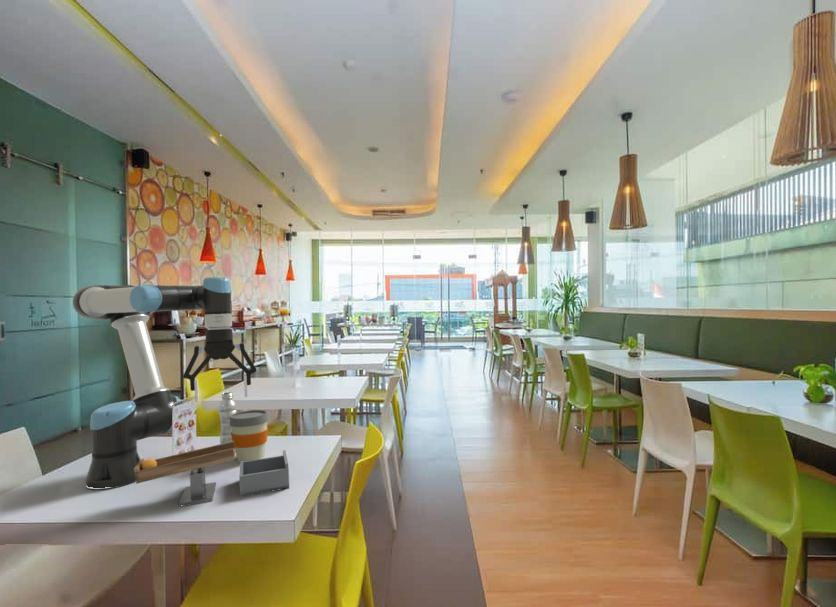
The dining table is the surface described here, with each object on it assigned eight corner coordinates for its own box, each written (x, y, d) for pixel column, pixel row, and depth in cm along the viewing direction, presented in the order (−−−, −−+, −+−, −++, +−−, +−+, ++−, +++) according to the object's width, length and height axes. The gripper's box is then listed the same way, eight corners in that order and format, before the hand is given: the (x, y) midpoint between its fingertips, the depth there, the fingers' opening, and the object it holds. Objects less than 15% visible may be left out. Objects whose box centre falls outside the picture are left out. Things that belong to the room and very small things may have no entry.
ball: (140, 474, 122) (137, 461, 122) (154, 468, 125) (151, 455, 125) (146, 475, 120) (143, 462, 120) (160, 469, 123) (157, 456, 123)
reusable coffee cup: (277, 452, 161) (275, 410, 161) (254, 464, 149) (252, 419, 149) (247, 450, 165) (245, 409, 165) (223, 462, 153) (221, 418, 153)
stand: (185, 489, 131) (184, 465, 131) (215, 484, 134) (214, 460, 134) (179, 506, 120) (178, 479, 120) (212, 500, 122) (211, 474, 122)
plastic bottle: (240, 446, 170) (238, 393, 170) (221, 450, 167) (219, 395, 167) (237, 442, 176) (235, 390, 176) (218, 445, 172) (216, 393, 172)
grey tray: (241, 480, 136) (240, 456, 136) (286, 472, 141) (285, 450, 141) (240, 496, 124) (239, 471, 124) (289, 488, 129) (288, 463, 129)
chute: (150, 468, 133) (147, 450, 133) (237, 447, 141) (234, 430, 141) (136, 489, 117) (133, 469, 117) (235, 464, 126) (232, 445, 125)
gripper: (170, 331, 129) (173, 406, 129) (263, 326, 138) (266, 396, 138) (174, 330, 136) (177, 401, 136) (261, 325, 145) (264, 391, 145)
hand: (222, 398), depth 137 cm, fingers open, 13 cm apart
